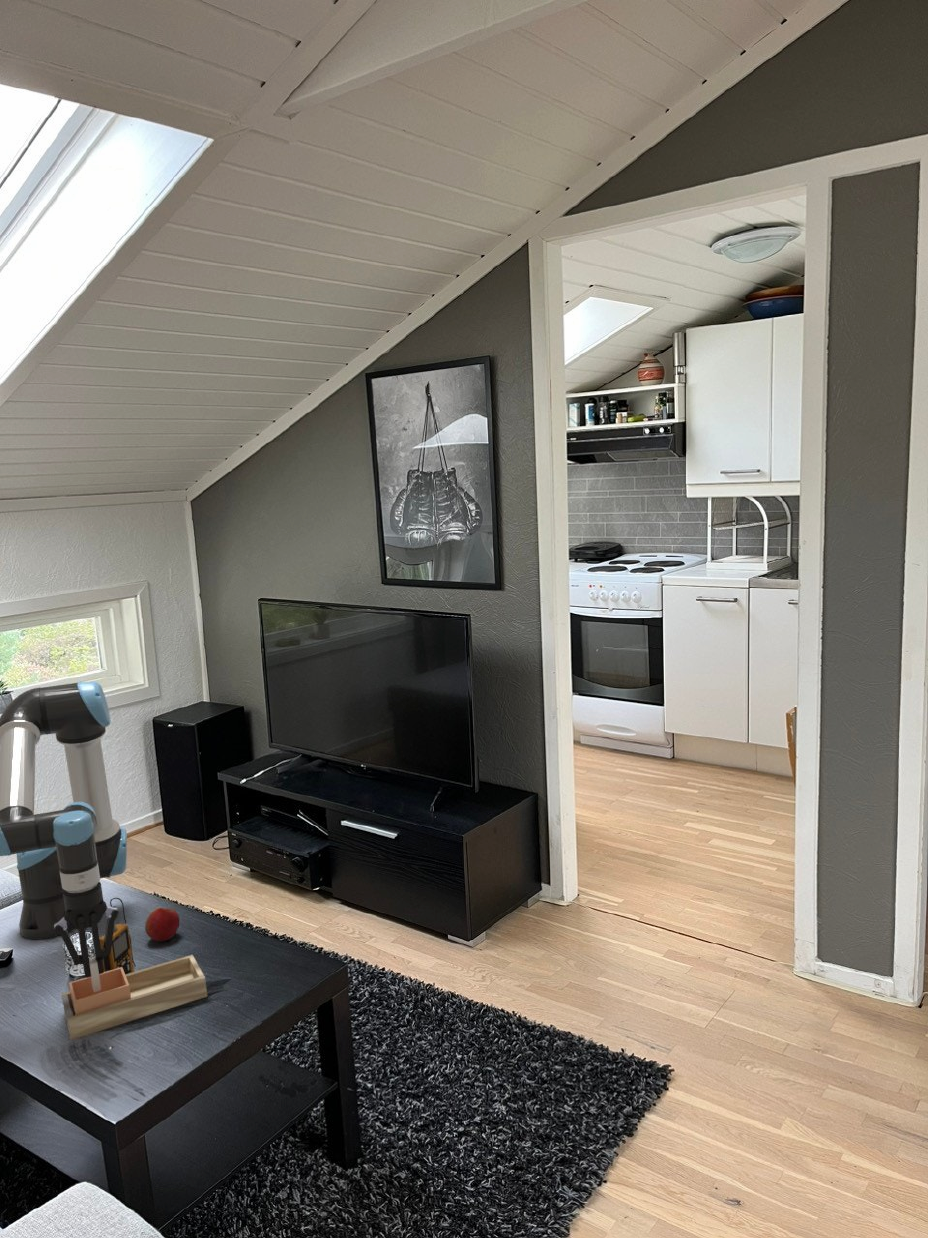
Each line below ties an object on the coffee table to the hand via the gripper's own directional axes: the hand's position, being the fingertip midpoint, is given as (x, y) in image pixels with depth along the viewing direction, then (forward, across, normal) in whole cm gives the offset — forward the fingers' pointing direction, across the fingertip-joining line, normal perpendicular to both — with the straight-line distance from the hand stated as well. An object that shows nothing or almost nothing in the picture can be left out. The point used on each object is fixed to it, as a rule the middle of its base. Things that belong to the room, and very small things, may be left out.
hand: (96, 988), depth 204 cm
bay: (+6, +7, -1) cm, 10 cm away
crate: (+5, +1, -1) cm, 5 cm away
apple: (+7, +19, +27) cm, 33 cm away
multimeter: (+7, +9, +9) cm, 14 cm away
